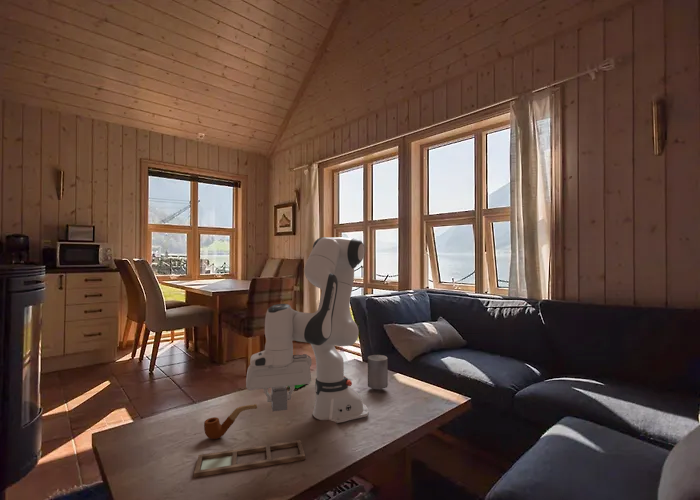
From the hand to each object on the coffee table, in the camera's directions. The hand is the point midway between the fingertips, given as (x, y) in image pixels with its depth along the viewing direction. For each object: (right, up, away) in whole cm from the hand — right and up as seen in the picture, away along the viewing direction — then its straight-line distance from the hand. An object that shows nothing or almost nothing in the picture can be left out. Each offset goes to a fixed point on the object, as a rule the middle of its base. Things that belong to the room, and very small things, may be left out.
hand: (279, 400), depth 115 cm
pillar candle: (+36, -18, +60) cm, 72 cm away
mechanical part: (-2, -19, +65) cm, 67 cm away
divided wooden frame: (-8, -17, -2) cm, 19 cm away
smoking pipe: (-20, -18, +13) cm, 30 cm away
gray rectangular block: (0, -2, 0) cm, 2 cm away
